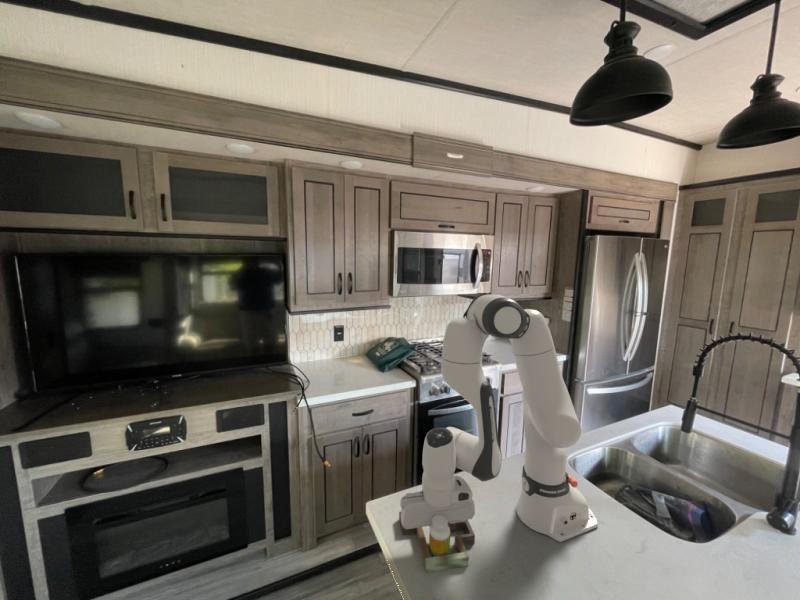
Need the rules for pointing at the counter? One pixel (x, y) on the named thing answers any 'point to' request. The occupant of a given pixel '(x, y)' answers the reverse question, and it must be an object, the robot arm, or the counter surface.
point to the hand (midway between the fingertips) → (437, 534)
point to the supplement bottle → (439, 536)
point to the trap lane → (445, 560)
